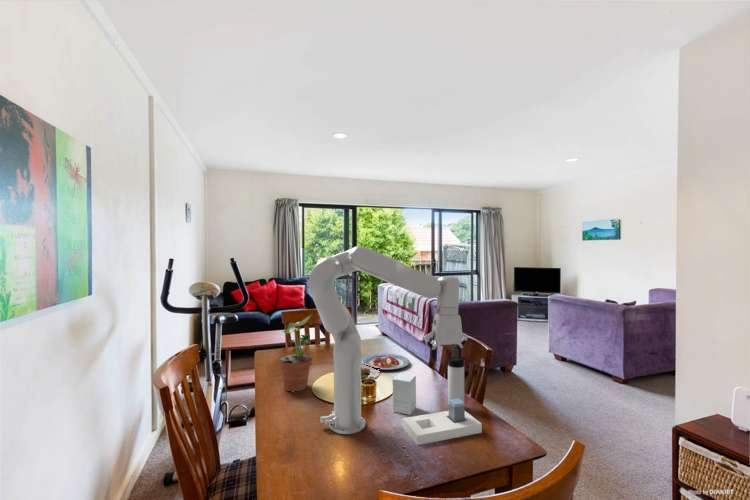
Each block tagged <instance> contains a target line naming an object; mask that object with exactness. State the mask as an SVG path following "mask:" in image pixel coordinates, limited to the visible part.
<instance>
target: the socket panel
mask: <svg viewBox="0 0 750 500" xmlns="http://www.w3.org/2000/svg"><path fill="white" fill-rule="evenodd" d="M401 426H402V428H403V430H404V431H405V432H406V433H407V435H408V436H409V437H410V438H411V440H412V441H413V442H414V443H415V444H416V445H417V446H420V445H425V444H426V445H427V444H432V443H436V442H439V441H440V442H441V441H445V440H446V441H447V440H451V439H455V438H462V437H466V436H471V435H472V436H473V435H477V434H482V433H483V432H482V431H483V425H482V423H481V422H480V421H479V420H478V419H476V418H475V417H474V416H472V415H471V414H470V413H469V412H467V411H466V410H465V421H463V422H458V423H453V422H452V421H451V420H450V419H449V410H444V411H438V412H431V413H425V414H421V415H414V416H408V417H403V418H402V425H401Z"/></svg>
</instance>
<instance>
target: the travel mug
mask: <svg viewBox="0 0 750 500" xmlns="http://www.w3.org/2000/svg"><path fill="white" fill-rule="evenodd" d="M465 360H466V356H462V355H461V359H460V360H459V359H457V358H455V357H454V355H453V356H449V357H448V359H447V408H448V409H449V399H457V398H459V399H460V400H461V401H463V402H464V403H465Z"/></svg>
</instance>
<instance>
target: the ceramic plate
mask: <svg viewBox="0 0 750 500" xmlns="http://www.w3.org/2000/svg"><path fill="white" fill-rule="evenodd" d="M363 363H365V364H372V365H375V366H378V367H379V368H380V369H379V370H385V371H386V370H396V369H402V368H406V367H407V366H408V365H409V364H410V360H409V358H407V357H405V356H403V355H399V354H393V353H378V354H377V353H376V354H370V355H368V356H365V357H364V358H362V359H361V364H363Z"/></svg>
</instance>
